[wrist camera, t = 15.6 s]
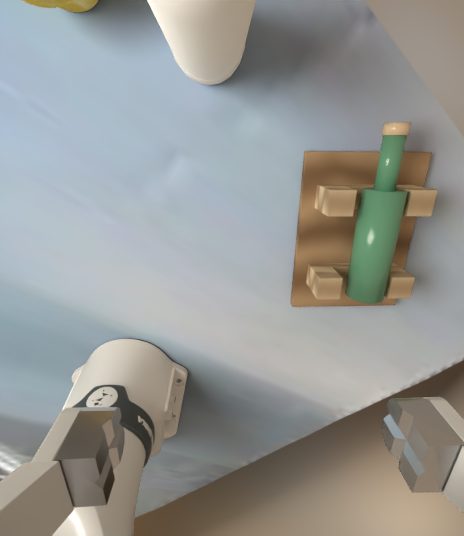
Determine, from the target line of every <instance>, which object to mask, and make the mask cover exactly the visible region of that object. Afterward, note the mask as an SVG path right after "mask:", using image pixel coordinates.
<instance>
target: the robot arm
mask: <svg viewBox="0 0 464 536" xmlns="http://www.w3.org/2000/svg"><path fill="white" fill-rule="evenodd" d="M187 375H188V372H187V370H186V369H185V368H184V367H182V366H181V365H178V364H176V363H174V362H173V361H171V360H170V359H169V358H168V357H167V356H166V355H165V354H164V353H163V352H162V351H161V350H160V349H158V348H157V347H155V346H153V345H151V344H149V343H147V342H144V341H140V340H135V339H118V340H113V341H110V342H107V343H105V344H103V345H101V346H100V347H98V348H97V349H96V350H95V351H94V352H93V353H92V354H91V356H90V358H89V359H88V361H87V362H86V363H85V364H84V365H82V366H81V367H79V368H78V369H76V370H75V371H74V373H73V375H72V381H73V383H74V386H73V388H72V390H71V392H70V394H69V396H68V399H67V401H66V403H65V405H64V407H63V410H62V412H61V413H60V414H59V416H58V418H57V419H56V421H55V423H54V424H53V426H52V428H51V429H50V431H49V433H48V435H47V436H46V438H45V440H44V441H43V443H42V445H41V446H40V448H39V450H38V451H37V453H36V455H35V456H34V458H33V460H32V461H31V462H25V463H24V464H22V465H21V466H20V467H18V468H17V469H16V470H15V471H13V472H12V473H11V474H9V475H8V476H7V477H6V478H4V479H3V480H2V481H0V536H133V525H134V517H135V510H136V503H137V497H138V491H139V486H140V481H141V476H142V471H143V468H144V467H145V465H146V464H147V461H148V460H149V458H150V457H152V456H154V455H156V454H157V453H159V452H160V450H161V448H162V443H163V440H164V439H167V438H170V437H172V436H174V435H175V434H176V432H177V428H178V423H179V418H180V413H181V407H182V402H183V397H184V391H185V386H186V380H187ZM178 379H180V380H178ZM386 408H387V410H388V412H389V413H390V414H389V415H387V416H386V417H385V418H384V419H383V423H382V435H383V439H384V442H385V445H386V447H387V448H388V450H389V452H390V454H392V455H393V456H394V457H396V458H397V459H398V460H399V470H400V472H401V474H402V475H403V477H404V479H405V481H406V482H407V484H408V486H409V488H410V490H411V491H412V492H443V495H444V496H445V497H446V498H448V499H449V500H450V501H451V502H452V503H453V504H454V505H455V506H456V507H458V508H459V509H460V510H461V511H462V512H463V513H464V420H463V419H462V418H461V417H460V415H459V414H458V413H457V412H456V411H455V410H454V409H453V408H452V406H451V405H450V404H449V403H448V402H447V401H446V400H445V399H443V398H441V397H426V398H398V399H391V400H390V401H389V402H388V404H387V407H386Z"/></svg>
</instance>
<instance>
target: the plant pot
mask: <svg viewBox="0 0 464 536" xmlns="http://www.w3.org/2000/svg"><path fill="white" fill-rule="evenodd" d="M22 1H24V2H27V3H29V4H31V5H35V6H38V7H44V8H56V7H58V8H61V9H64V10H67V11H70V12H85V11H87V10H90V9H91V8H93V7H94V6H95V5H96V4H97V2H98V1H99V0H22Z"/></svg>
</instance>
